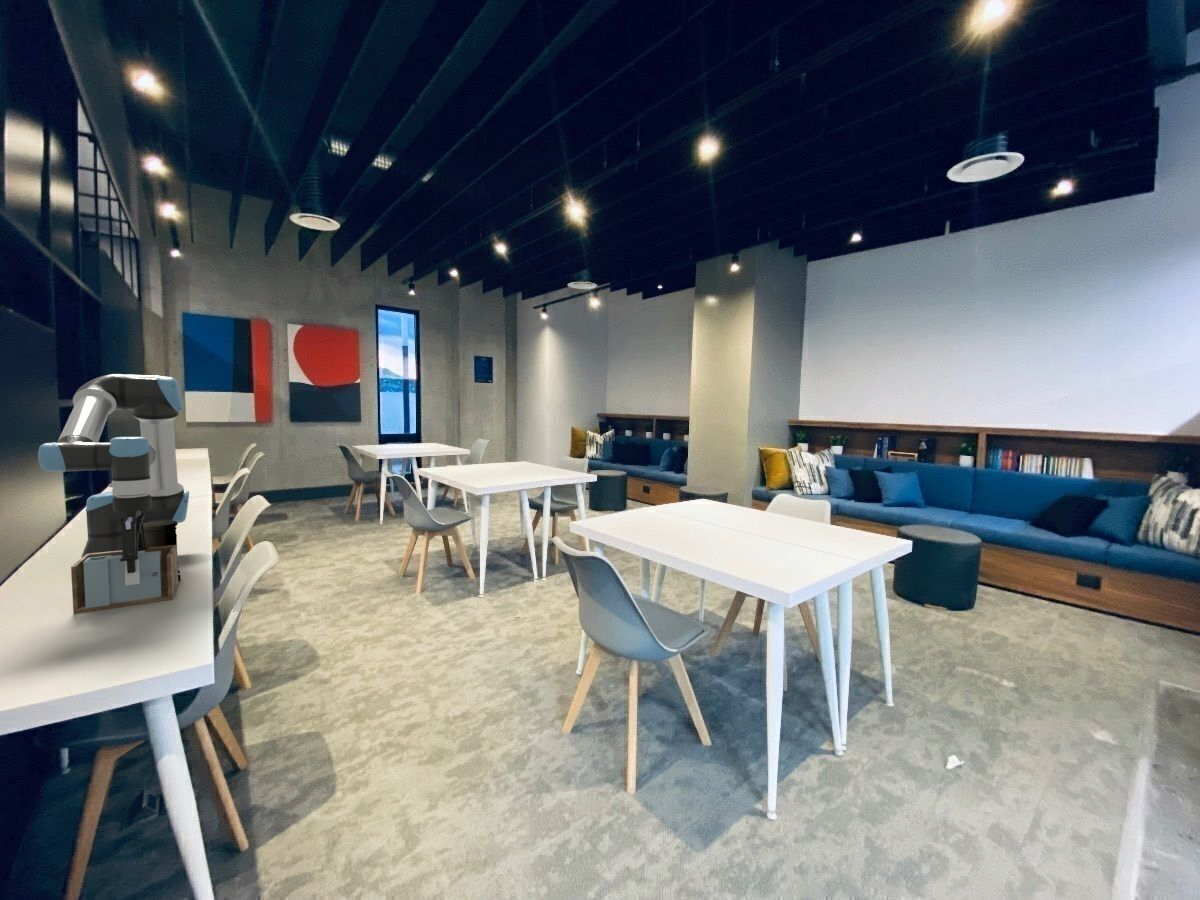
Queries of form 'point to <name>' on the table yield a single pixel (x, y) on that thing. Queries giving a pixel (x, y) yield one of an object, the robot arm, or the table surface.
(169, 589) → the cabinet
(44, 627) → the table surface
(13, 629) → the table surface
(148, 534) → the container
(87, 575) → the door
